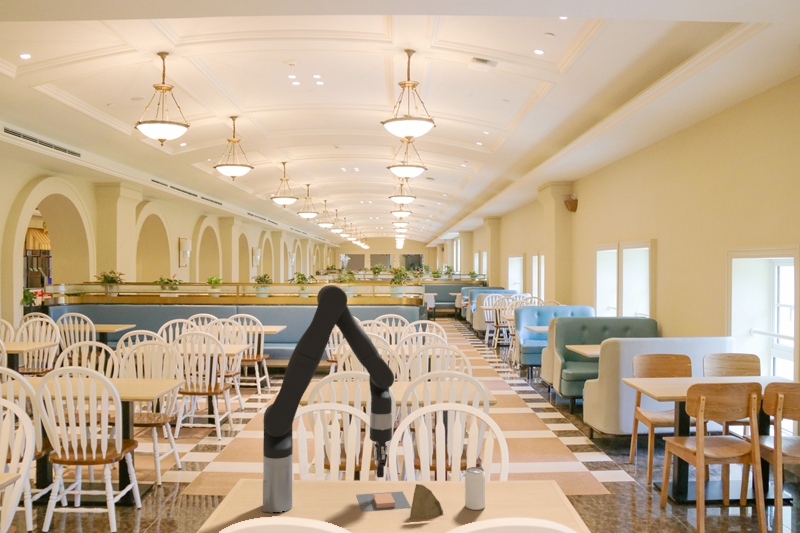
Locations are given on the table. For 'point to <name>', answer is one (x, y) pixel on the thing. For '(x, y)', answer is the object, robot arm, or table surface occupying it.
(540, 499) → the table surface
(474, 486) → the can
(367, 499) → the mat
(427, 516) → the rock
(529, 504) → the table surface
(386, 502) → the tile
